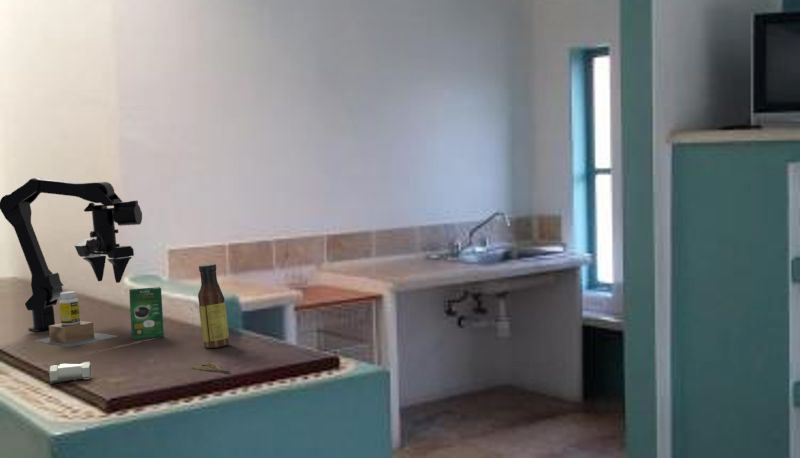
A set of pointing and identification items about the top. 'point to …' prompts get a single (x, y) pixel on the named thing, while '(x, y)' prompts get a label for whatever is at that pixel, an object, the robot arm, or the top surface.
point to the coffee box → (146, 313)
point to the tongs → (210, 368)
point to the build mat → (96, 338)
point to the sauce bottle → (212, 309)
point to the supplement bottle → (69, 308)
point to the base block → (71, 332)
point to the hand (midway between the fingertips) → (108, 281)
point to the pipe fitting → (70, 372)
